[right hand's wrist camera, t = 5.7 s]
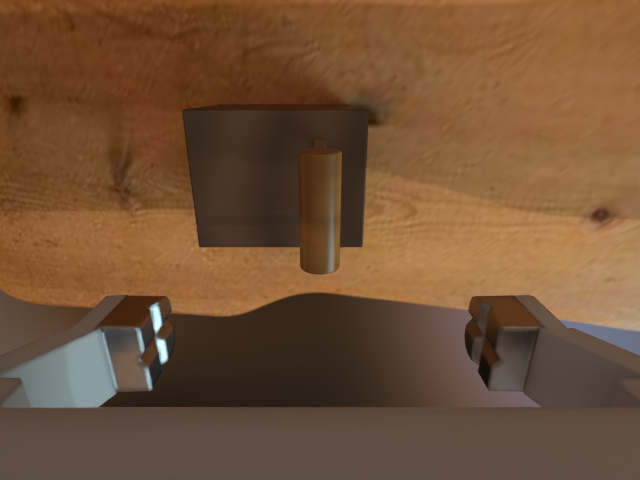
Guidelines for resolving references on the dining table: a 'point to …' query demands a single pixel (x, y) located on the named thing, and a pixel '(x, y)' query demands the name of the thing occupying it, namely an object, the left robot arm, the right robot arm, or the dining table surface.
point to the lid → (279, 179)
